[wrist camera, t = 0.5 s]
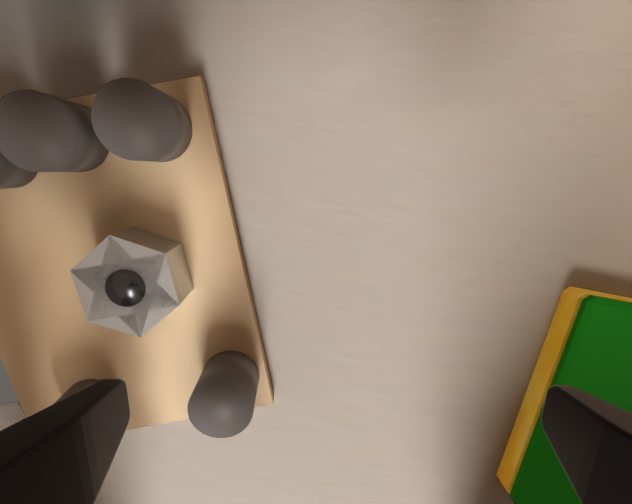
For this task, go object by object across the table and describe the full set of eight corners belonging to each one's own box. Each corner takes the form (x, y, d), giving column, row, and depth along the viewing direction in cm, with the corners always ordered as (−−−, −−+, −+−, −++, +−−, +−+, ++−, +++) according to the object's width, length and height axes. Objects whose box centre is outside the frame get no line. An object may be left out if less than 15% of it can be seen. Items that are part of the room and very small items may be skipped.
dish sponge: (664, 302, 23) (707, 318, 20) (586, 487, 26) (616, 519, 23) (559, 282, 22) (591, 296, 20) (491, 474, 25) (511, 506, 23)
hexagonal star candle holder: (120, 324, 20) (94, 346, 17) (91, 233, 19) (59, 243, 16) (199, 309, 20) (185, 330, 17) (176, 218, 19) (157, 226, 16)
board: (45, 436, 22) (-5, 489, 18) (-76, 127, 18) (-173, 117, 14) (274, 395, 22) (269, 440, 19) (203, 79, 18) (179, 56, 14)
